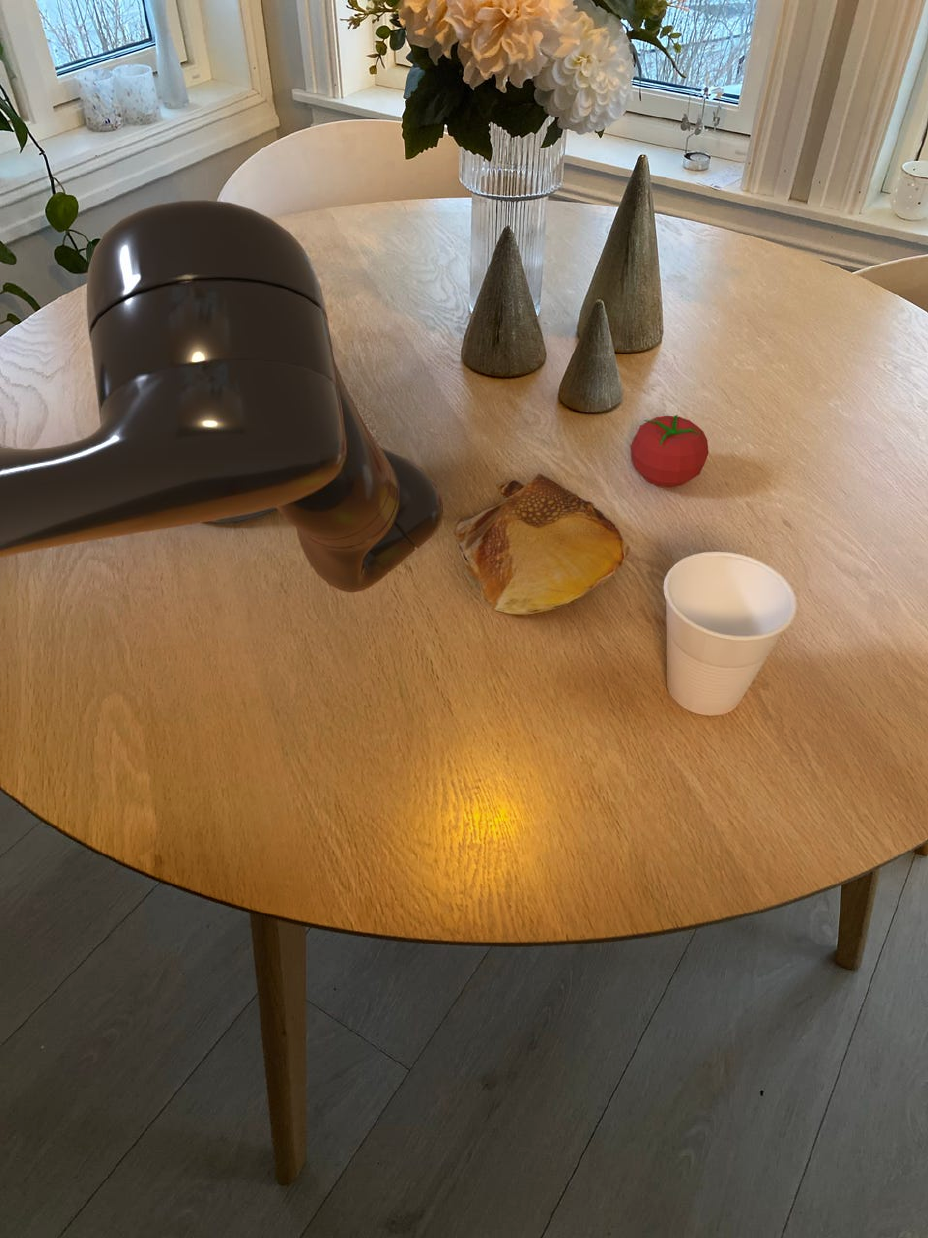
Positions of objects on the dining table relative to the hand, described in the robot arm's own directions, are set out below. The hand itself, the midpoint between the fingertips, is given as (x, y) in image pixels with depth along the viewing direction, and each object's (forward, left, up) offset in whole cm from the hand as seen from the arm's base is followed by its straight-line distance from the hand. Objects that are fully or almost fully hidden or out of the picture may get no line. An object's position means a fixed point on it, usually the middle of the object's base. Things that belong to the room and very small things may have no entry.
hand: (215, 330), depth 90 cm
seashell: (+32, -8, -16) cm, 37 cm away
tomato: (+44, +8, -16) cm, 48 cm away
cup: (+48, -22, -16) cm, 56 cm away
